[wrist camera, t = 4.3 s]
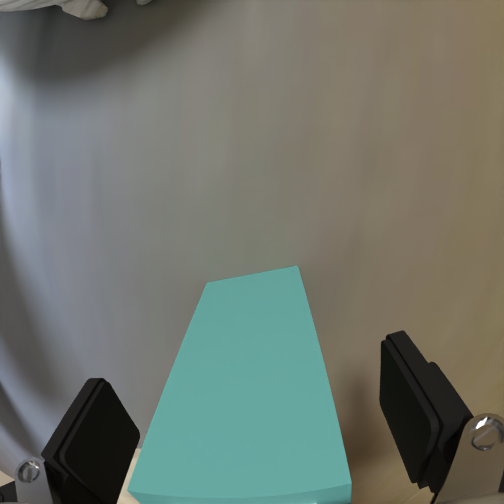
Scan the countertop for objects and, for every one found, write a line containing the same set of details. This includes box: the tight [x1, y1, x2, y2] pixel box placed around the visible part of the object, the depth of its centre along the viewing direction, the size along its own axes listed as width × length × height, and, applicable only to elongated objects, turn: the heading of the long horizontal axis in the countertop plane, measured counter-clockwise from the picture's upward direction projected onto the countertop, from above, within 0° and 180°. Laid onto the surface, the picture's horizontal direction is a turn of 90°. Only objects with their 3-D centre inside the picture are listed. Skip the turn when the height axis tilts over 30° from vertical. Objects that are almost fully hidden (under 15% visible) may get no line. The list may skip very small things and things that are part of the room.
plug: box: [127, 265, 352, 504], centre depth 9 cm, size 4×4×11 cm
